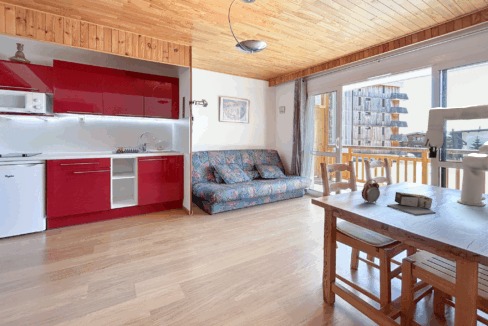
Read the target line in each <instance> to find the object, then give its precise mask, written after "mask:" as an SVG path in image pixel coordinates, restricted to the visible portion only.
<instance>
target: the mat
mask: <svg viewBox="0 0 488 326" xmlns="http://www.w3.org/2000/svg"><path fill="white" fill-rule="evenodd" d="M386 207H389V208H392V209H394V210H397V211H401V212H404V213H407V214H409V215H413V216H423V215H424V216H425V215H433V214H436V211H433V210H431V209H430V210H429V209H428V208H422V207H415V206H408V205H401V204H399V203H394V204H387V205H386Z"/></svg>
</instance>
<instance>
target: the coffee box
mask: <svg viewBox="0 0 488 326" xmlns="http://www.w3.org/2000/svg"><path fill="white" fill-rule="evenodd" d="M394 196H395V197H394V203H396V204H401V205H408V206H415V207H420V208H423V209H428V210H429V209H430V210H431V209H432V204H433V200H434V199H433V198H432V197H429V196H427V195H425V194H424V195H422V194H416V193H415V194H414V193H408V192H407V193H406V192H400V191H399V192H398V191H396V192H395V194H394Z"/></svg>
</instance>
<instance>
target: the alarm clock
mask: <svg viewBox="0 0 488 326" xmlns="http://www.w3.org/2000/svg"><path fill="white" fill-rule="evenodd" d="M370 181H374V182H373V183H369V182H370ZM379 188H380V184H379V183H378V181H376V179H375V180H374V179H369V180H367V182H365V183H364V184H363V189H362V190H361V197H362V199H363V200H364V203H366V202H367V203H369V202H370V203H377V201H378V199H380V194H381V191H380V189H379Z"/></svg>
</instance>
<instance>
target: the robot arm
mask: <svg viewBox="0 0 488 326" xmlns="http://www.w3.org/2000/svg"><path fill="white" fill-rule="evenodd" d="M484 119H485V120H486V119H488V104H487V103H486V104H474V105H467V106H461V107H457V106H453V107H452V106H451V107H434V108H433V107H432V108H430V109H429V110H428V119H427V121H428V122H427V130H426V132H425V136H424V140H423V146H424V147H425V149H427V150H428V151H429V154H428V155H429V156H428V157H429V158H430V159H436V158H437V155H438V154H437V153H438V150H440V149H442V146H443V145H444V123H445V121H459V120H460V121H461V120H465V121H469V120H484ZM461 164H462V170H463V171H462V183H461V191H460V198H458V199H456V202H457V203H459V204H461V205H468V206H475V207H483V206H486V203H485V202H483V201H486V199H487V198H486V197H485V196H483V193H484V183H485V173H484V172H485V171H486V172H488V140H487V141H486V142H484V143H483V144H482V145H481V146H480V147H479V148H478V153H468V154H466V155H465V156H464V157H463V158H462V163H461Z"/></svg>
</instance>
